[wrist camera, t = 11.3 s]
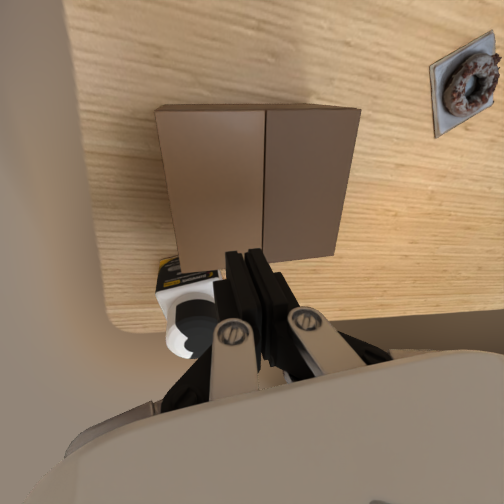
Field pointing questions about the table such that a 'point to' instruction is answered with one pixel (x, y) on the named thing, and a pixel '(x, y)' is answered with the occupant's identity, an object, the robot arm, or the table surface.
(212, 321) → the medicine bottle
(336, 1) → the table surface
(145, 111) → the table surface
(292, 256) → the carton
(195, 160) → the front flap
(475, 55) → the donut
